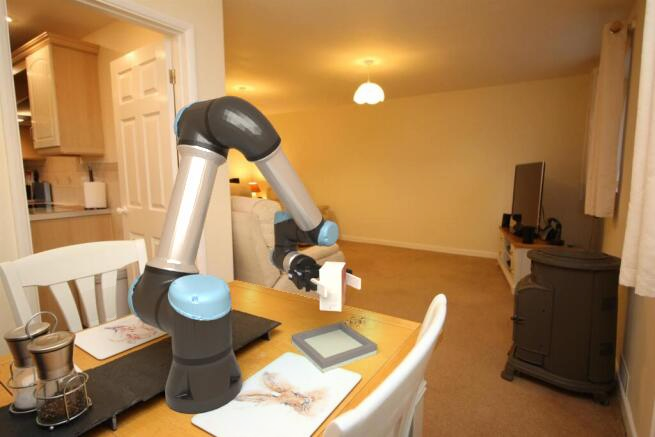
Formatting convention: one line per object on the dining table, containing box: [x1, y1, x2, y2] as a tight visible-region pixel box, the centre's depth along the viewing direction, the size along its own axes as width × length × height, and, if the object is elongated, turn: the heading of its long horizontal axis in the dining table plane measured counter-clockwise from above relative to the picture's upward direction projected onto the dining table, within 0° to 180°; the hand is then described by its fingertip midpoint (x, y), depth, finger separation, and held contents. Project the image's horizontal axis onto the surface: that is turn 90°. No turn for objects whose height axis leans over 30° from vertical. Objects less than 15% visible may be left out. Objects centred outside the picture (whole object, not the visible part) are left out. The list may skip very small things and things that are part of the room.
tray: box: [291, 320, 378, 374], centre depth 89 cm, size 16×16×2 cm
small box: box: [318, 261, 347, 313], centre depth 87 cm, size 8×6×10 cm
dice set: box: [344, 316, 366, 329], centre depth 103 cm, size 5×5×2 cm
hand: (343, 287), depth 83 cm, fingers closed on small box, 9 cm apart
